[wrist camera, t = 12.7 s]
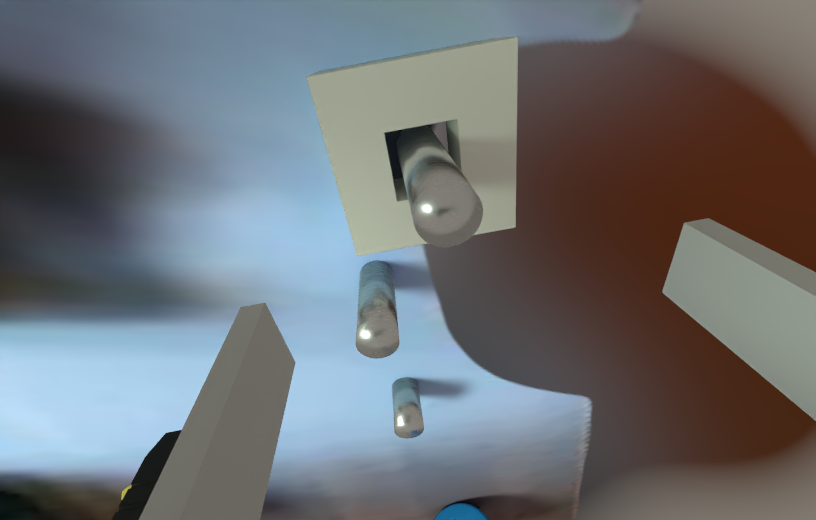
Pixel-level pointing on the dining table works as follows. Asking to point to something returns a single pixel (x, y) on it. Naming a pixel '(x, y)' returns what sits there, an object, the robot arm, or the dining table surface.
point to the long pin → (437, 190)
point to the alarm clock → (461, 513)
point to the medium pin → (377, 311)
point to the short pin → (407, 408)
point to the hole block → (411, 107)
